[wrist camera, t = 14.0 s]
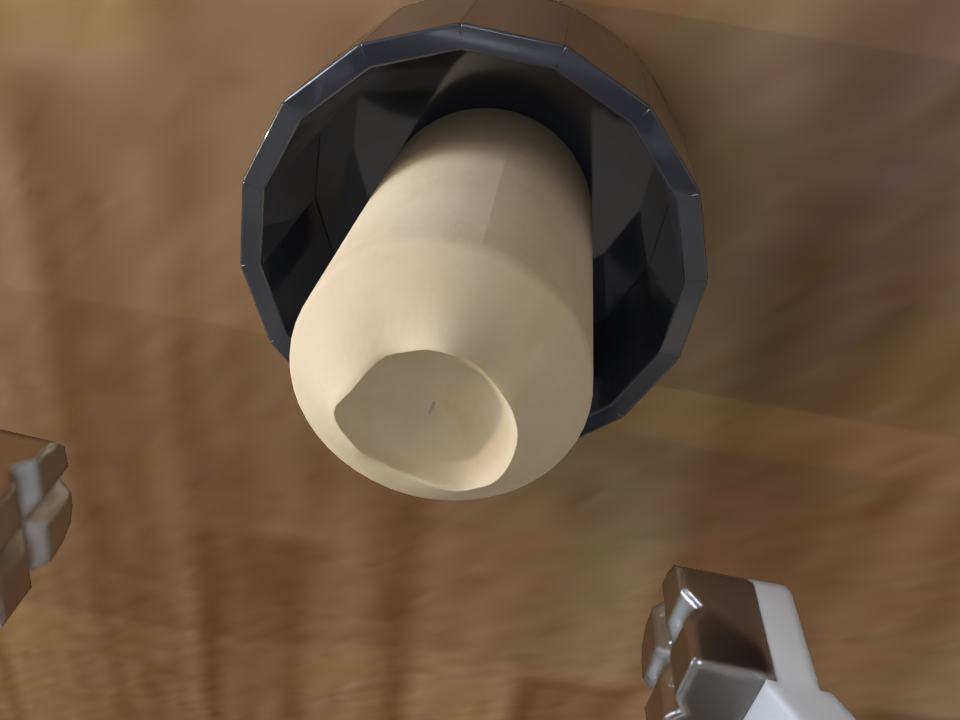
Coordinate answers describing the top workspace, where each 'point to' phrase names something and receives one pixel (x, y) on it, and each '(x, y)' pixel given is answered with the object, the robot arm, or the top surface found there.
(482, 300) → the candle
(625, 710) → the top surface
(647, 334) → the holder
